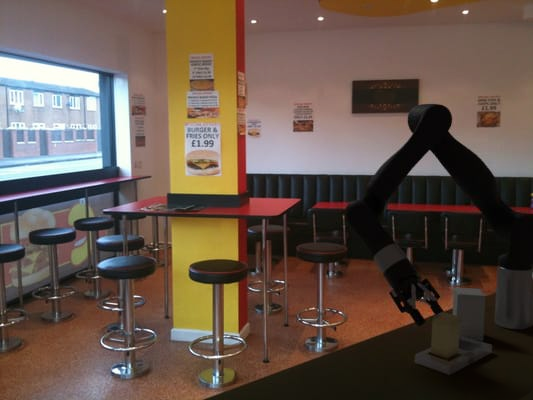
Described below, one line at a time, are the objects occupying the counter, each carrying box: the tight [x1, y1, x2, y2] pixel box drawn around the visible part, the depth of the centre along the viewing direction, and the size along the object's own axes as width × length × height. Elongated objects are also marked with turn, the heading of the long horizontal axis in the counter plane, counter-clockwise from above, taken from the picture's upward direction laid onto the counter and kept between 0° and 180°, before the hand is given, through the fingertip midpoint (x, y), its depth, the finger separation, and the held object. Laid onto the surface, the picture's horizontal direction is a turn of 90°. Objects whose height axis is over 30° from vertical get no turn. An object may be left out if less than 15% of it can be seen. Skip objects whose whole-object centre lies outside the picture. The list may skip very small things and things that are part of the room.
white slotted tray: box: [414, 335, 493, 376], centre depth 133 cm, size 20×9×3 cm, turn 131°
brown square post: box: [429, 311, 462, 361], centre depth 130 cm, size 5×5×11 cm
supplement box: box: [452, 287, 486, 342], centre depth 150 cm, size 7×7×13 cm
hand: (432, 320), depth 132 cm, fingers open, 8 cm apart
